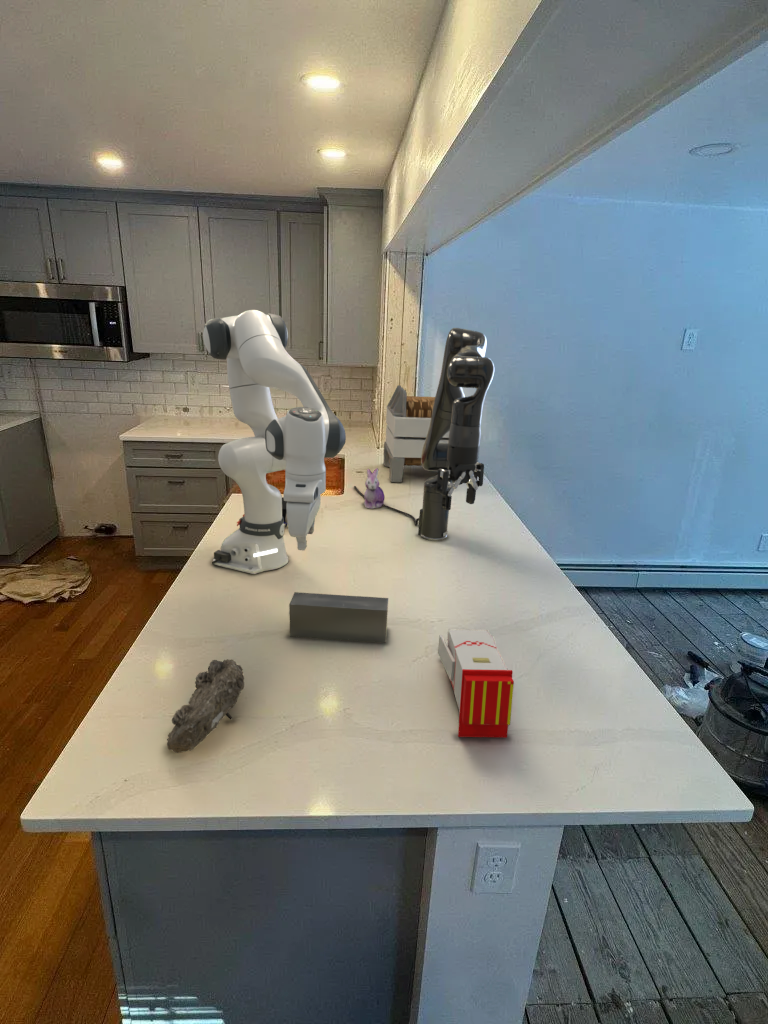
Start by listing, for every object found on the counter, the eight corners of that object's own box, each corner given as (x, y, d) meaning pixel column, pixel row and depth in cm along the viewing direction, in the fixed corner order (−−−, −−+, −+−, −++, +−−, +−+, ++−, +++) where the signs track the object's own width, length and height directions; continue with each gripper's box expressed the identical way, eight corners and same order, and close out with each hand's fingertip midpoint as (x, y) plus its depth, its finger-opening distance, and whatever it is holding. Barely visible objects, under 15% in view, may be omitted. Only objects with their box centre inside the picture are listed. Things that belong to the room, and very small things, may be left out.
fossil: (192, 660, 117) (244, 628, 112) (224, 691, 120) (276, 661, 115) (142, 746, 98) (202, 712, 93) (182, 779, 101) (242, 748, 96)
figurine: (368, 510, 221) (370, 473, 216) (357, 502, 229) (358, 466, 224) (390, 507, 225) (391, 471, 220) (378, 500, 233) (379, 464, 228)
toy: (488, 613, 130) (523, 677, 101) (484, 667, 133) (517, 744, 104) (435, 612, 130) (455, 676, 101) (432, 666, 133) (451, 743, 103)
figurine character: (291, 533, 199) (296, 514, 213) (290, 514, 196) (295, 495, 209) (271, 532, 199) (278, 513, 213) (270, 513, 196) (277, 495, 209)
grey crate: (382, 463, 289) (386, 382, 275) (445, 464, 293) (451, 384, 279) (390, 482, 257) (394, 392, 243) (460, 483, 261) (468, 394, 247)
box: (386, 629, 140) (388, 598, 137) (385, 643, 134) (387, 610, 131) (294, 623, 141) (294, 592, 138) (289, 636, 135) (289, 604, 132)
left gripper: (300, 469, 135) (301, 523, 140) (281, 496, 116) (282, 558, 120) (326, 471, 135) (326, 525, 139) (312, 498, 115) (312, 559, 120)
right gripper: (472, 436, 143) (466, 497, 148) (431, 442, 134) (427, 507, 139) (495, 442, 137) (488, 505, 143) (454, 449, 129) (449, 516, 134)
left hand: (306, 540), depth 130 cm, fingers open, 8 cm apart
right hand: (458, 506), depth 141 cm, fingers open, 8 cm apart
